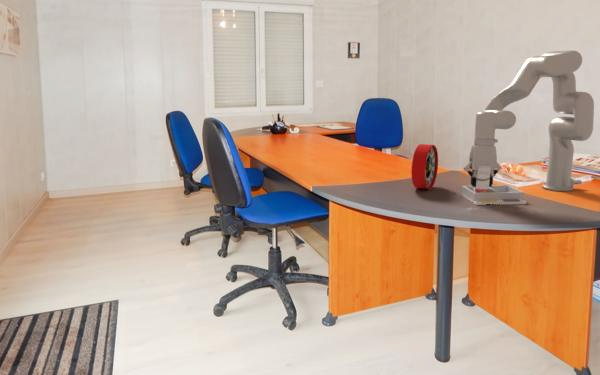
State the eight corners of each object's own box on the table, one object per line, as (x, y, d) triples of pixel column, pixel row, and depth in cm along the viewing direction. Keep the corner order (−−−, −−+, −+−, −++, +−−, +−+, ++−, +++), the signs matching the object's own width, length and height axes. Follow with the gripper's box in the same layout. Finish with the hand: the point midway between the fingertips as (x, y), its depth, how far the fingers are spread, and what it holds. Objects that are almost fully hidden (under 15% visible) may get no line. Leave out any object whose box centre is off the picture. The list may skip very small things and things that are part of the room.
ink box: (489, 195, 200) (491, 166, 197) (476, 195, 201) (477, 166, 198) (485, 190, 208) (487, 162, 205) (473, 190, 209) (474, 162, 206)
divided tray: (507, 193, 212) (508, 184, 211) (526, 203, 195) (527, 194, 194) (461, 194, 211) (461, 185, 210) (476, 205, 195) (476, 195, 194)
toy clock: (423, 193, 215) (425, 147, 210) (410, 192, 218) (412, 147, 213) (437, 184, 231) (439, 142, 227) (424, 183, 234) (426, 141, 230)
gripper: (501, 140, 203) (498, 183, 207) (459, 141, 203) (457, 184, 207) (509, 143, 196) (506, 187, 200) (466, 144, 196) (463, 188, 200)
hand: (481, 185), depth 203 cm, fingers closed on ink box, 5 cm apart
